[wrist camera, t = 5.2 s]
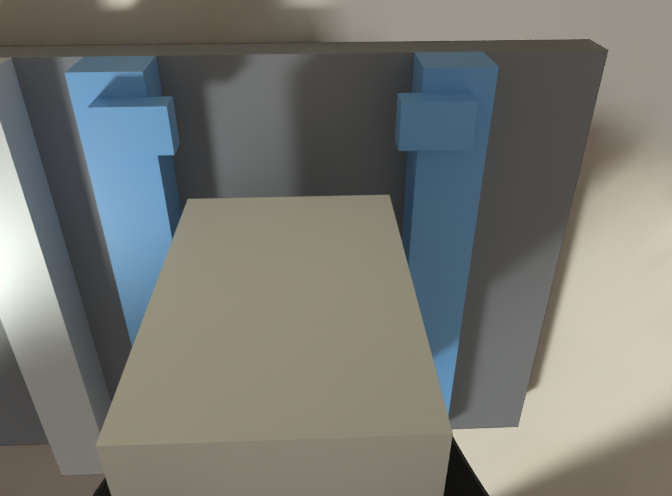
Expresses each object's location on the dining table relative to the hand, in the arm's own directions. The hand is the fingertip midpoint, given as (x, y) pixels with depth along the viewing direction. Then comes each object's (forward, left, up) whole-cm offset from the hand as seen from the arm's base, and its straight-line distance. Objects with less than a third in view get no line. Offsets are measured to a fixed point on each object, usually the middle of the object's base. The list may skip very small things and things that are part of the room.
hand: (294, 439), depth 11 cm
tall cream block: (0, 0, -3) cm, 3 cm away
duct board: (0, +5, -6) cm, 8 cm away
